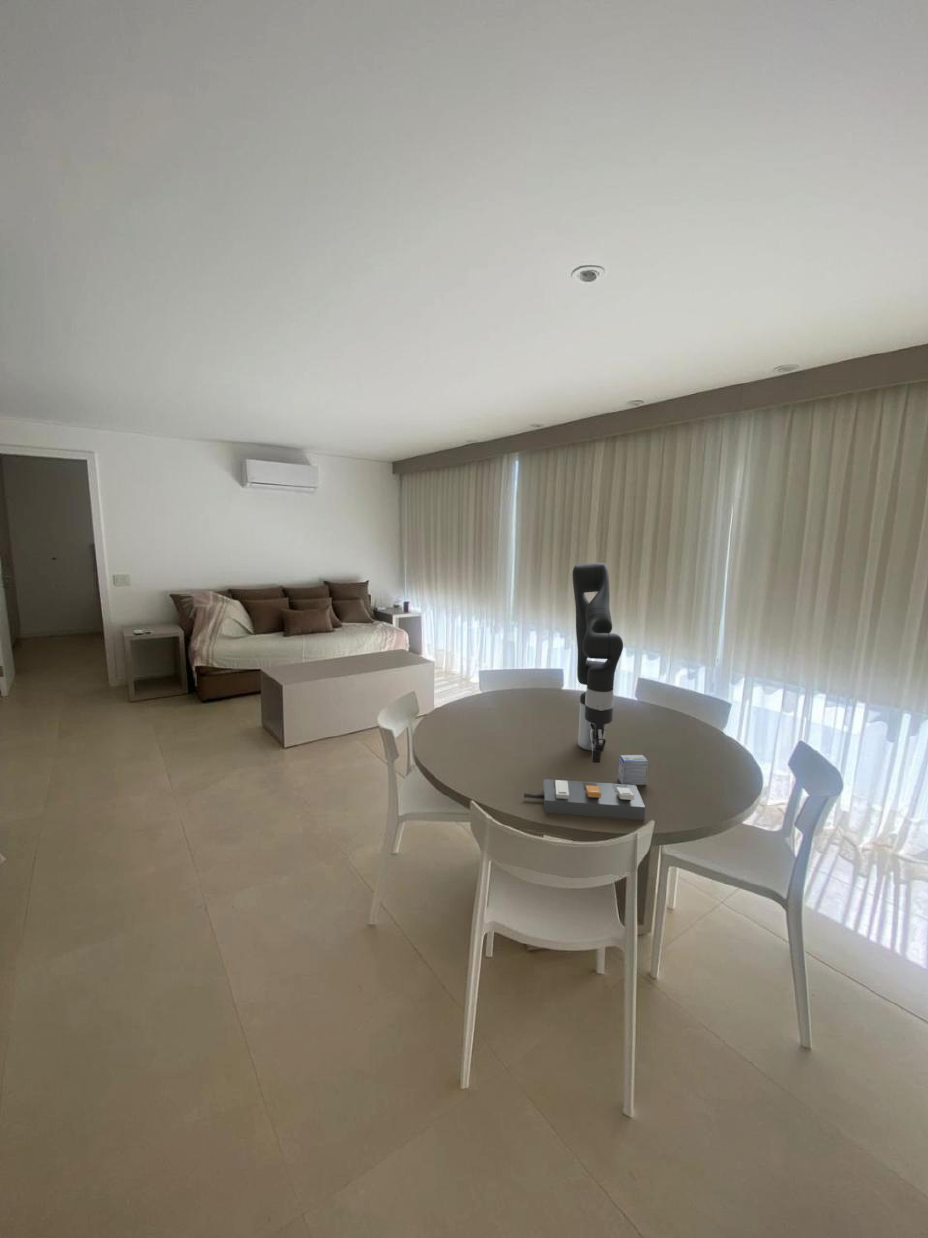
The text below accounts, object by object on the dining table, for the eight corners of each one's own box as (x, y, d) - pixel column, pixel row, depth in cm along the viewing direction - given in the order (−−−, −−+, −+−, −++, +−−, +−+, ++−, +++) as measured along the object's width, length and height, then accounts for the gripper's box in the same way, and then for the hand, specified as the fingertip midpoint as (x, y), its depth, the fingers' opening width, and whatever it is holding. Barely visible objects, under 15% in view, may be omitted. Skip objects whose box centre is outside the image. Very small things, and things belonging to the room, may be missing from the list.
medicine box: (641, 778, 159) (643, 754, 157) (646, 785, 154) (648, 760, 153) (617, 779, 159) (619, 754, 157) (622, 786, 154) (624, 761, 153)
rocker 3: (616, 792, 142) (616, 787, 142) (629, 792, 142) (629, 787, 142) (620, 799, 136) (620, 793, 136) (633, 800, 136) (633, 794, 136)
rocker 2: (585, 790, 143) (585, 785, 143) (597, 790, 143) (597, 785, 143) (588, 796, 137) (588, 791, 137) (601, 797, 137) (601, 792, 137)
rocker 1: (555, 783, 145) (555, 779, 144) (567, 784, 144) (567, 780, 144) (556, 798, 139) (556, 794, 139) (568, 799, 139) (569, 795, 138)
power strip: (524, 789, 152) (524, 776, 151) (634, 797, 148) (635, 783, 147) (523, 811, 140) (524, 796, 140) (644, 820, 136) (645, 805, 135)
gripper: (582, 695, 140) (579, 750, 143) (588, 711, 127) (585, 772, 130) (609, 696, 139) (605, 752, 142) (617, 713, 126) (613, 774, 129)
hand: (595, 761), depth 136 cm, fingers closed
